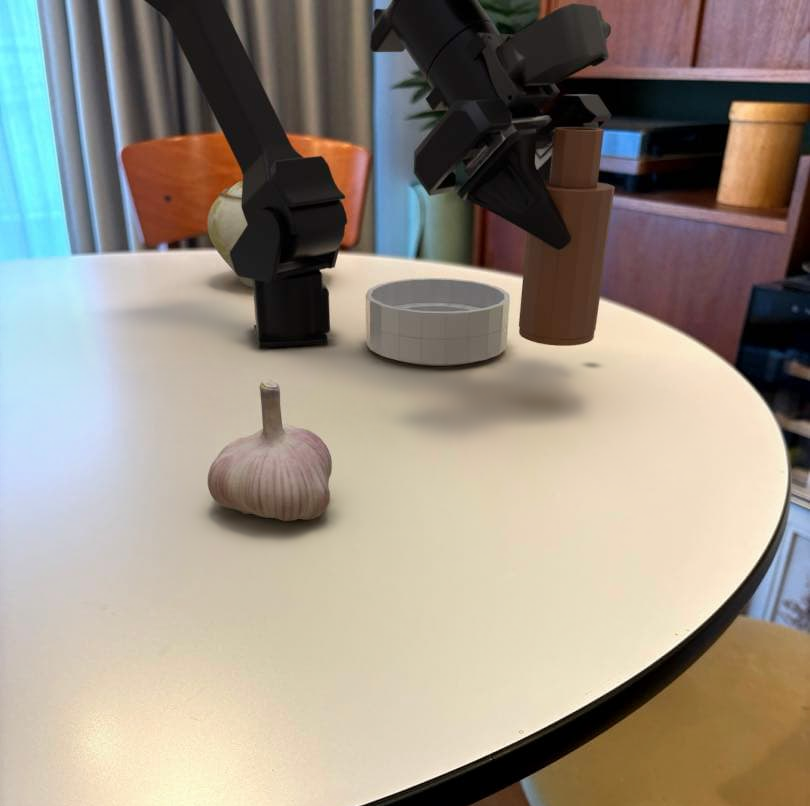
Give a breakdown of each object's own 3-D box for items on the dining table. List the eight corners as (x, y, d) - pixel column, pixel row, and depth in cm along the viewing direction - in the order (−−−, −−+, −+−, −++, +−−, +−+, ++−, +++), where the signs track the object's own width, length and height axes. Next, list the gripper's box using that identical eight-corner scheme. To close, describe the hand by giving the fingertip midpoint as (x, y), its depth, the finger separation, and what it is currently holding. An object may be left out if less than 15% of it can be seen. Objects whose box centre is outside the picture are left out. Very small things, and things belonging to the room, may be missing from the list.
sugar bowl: (345, 299, 93) (341, 153, 85) (209, 303, 91) (193, 154, 83) (331, 263, 110) (326, 138, 102) (216, 265, 108) (203, 138, 100)
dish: (382, 374, 71) (382, 316, 68) (355, 332, 82) (354, 281, 79) (525, 365, 73) (530, 308, 71) (480, 325, 84) (483, 275, 82)
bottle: (552, 350, 59) (576, 133, 52) (503, 330, 63) (519, 126, 56) (609, 339, 62) (640, 131, 55) (559, 320, 66) (581, 124, 59)
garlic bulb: (347, 529, 47) (344, 396, 43) (217, 546, 45) (201, 409, 41) (321, 474, 54) (315, 353, 50) (206, 487, 52) (191, 363, 48)
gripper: (461, -64, 46) (618, 169, 46) (603, -34, 59) (724, 147, 59) (353, 91, 54) (487, 290, 54) (499, 87, 67) (606, 247, 67)
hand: (584, 239), depth 58 cm, fingers closed on bottle, 6 cm apart
